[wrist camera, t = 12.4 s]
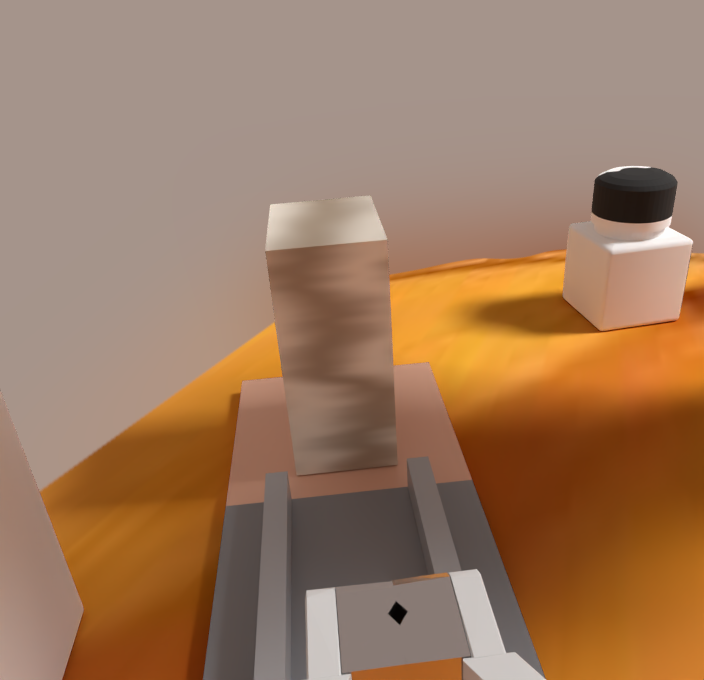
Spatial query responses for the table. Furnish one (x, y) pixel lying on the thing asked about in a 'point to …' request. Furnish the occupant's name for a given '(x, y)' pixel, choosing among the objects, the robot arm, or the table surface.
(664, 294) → the medicine bottle
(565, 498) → the table surface
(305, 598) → the robot arm
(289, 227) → the block
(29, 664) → the milk carton
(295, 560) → the chute
